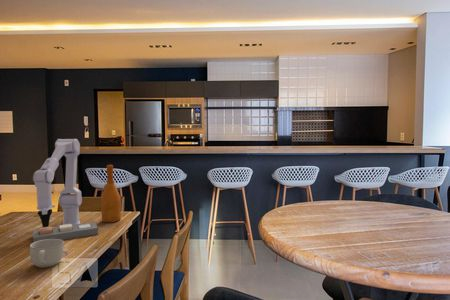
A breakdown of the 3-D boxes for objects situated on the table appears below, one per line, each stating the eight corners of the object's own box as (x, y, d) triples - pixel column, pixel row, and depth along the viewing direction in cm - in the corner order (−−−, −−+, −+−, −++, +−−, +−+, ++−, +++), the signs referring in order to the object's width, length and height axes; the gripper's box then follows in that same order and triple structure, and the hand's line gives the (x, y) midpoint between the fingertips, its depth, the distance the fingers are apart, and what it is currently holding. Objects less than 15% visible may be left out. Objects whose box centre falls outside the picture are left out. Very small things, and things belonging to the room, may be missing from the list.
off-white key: (59, 229, 148) (59, 225, 148) (71, 227, 151) (71, 223, 151) (60, 232, 144) (60, 228, 144) (72, 230, 147) (72, 226, 147)
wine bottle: (116, 216, 178) (114, 163, 176) (124, 220, 171) (122, 164, 169) (98, 220, 172) (96, 164, 169) (106, 224, 164) (104, 166, 162)
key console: (33, 236, 146) (33, 230, 146) (94, 227, 159) (93, 221, 159) (33, 244, 136) (32, 237, 136) (98, 234, 149) (97, 227, 149)
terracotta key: (39, 232, 144) (39, 228, 144) (52, 230, 147) (51, 226, 147) (39, 235, 140) (39, 231, 140) (52, 233, 143) (52, 229, 142)
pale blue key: (78, 229, 153) (78, 225, 152) (89, 227, 155) (89, 223, 155) (79, 232, 148) (79, 228, 148) (91, 230, 151) (91, 226, 151)
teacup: (39, 258, 121) (38, 238, 121) (69, 257, 122) (68, 237, 122) (19, 275, 107) (18, 252, 107) (53, 274, 108) (52, 251, 108)
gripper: (54, 198, 138) (56, 229, 139) (54, 192, 151) (55, 221, 151) (35, 200, 135) (37, 232, 135) (37, 194, 147) (38, 223, 148)
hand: (45, 226), depth 143 cm, fingers closed
